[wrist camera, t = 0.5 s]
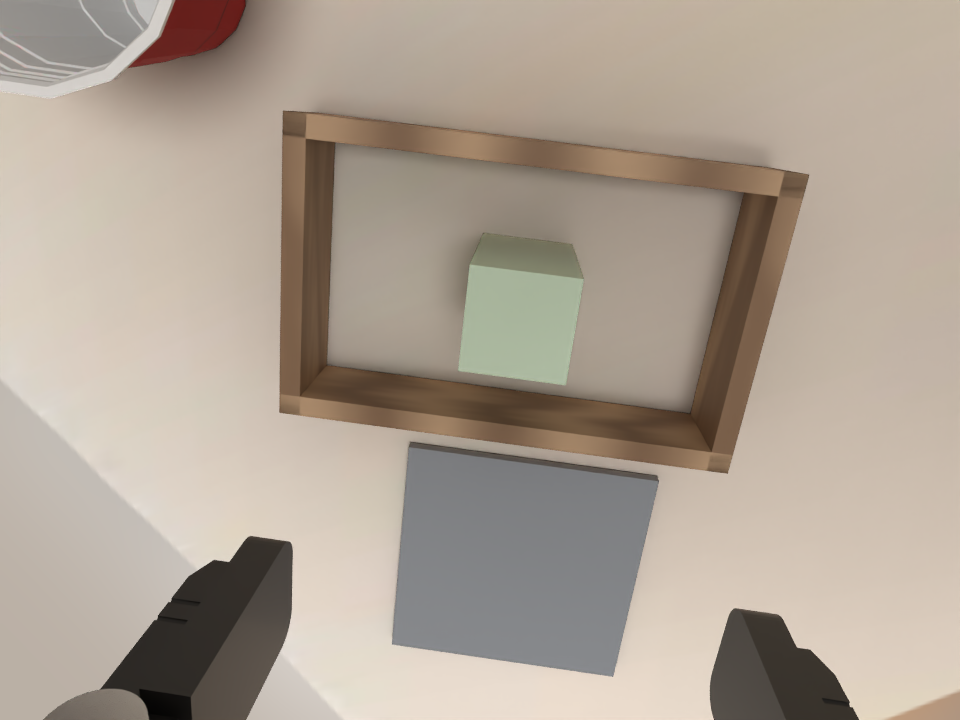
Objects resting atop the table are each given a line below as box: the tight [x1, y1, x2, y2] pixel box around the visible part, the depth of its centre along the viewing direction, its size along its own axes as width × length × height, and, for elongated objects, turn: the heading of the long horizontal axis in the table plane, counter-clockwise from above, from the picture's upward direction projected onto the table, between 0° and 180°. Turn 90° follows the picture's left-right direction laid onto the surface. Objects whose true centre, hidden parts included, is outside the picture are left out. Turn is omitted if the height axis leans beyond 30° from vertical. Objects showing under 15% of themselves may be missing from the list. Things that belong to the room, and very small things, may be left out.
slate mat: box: [392, 442, 659, 677], centre depth 40 cm, size 14×14×1 cm
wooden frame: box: [279, 111, 809, 474], centre depth 32 cm, size 22×14×4 cm, turn 84°
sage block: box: [458, 233, 584, 385], centre depth 31 cm, size 4×4×8 cm
